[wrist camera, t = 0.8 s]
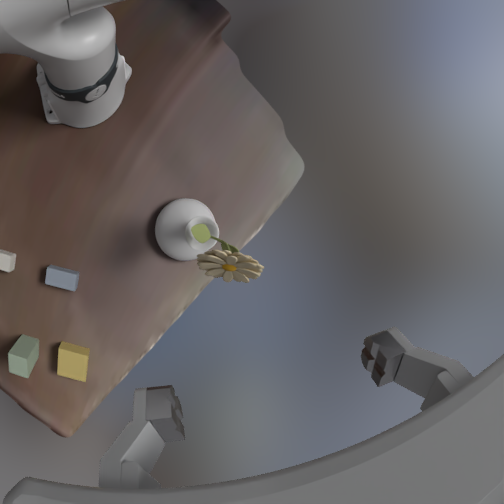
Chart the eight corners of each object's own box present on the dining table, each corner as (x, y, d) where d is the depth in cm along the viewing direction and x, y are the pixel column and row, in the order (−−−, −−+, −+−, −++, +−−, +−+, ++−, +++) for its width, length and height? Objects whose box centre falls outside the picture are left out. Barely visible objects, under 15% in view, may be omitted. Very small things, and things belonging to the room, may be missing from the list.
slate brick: (49, 280, 44) (44, 283, 41) (51, 264, 44) (47, 267, 41) (77, 287, 47) (74, 291, 44) (79, 271, 46) (77, 274, 44)
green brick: (22, 351, 42) (9, 372, 34) (22, 334, 42) (8, 352, 34) (38, 356, 44) (27, 378, 35) (39, 339, 44) (27, 359, 35)
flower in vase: (141, 230, 50) (151, 242, 28) (184, 186, 53) (228, 163, 30) (191, 277, 55) (238, 321, 32) (230, 234, 57) (301, 247, 35)
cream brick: (-9, 261, 38) (-16, 264, 35) (-7, 246, 38) (-14, 248, 35) (14, 269, 41) (8, 272, 38) (16, 253, 41) (10, 256, 38)
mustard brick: (60, 366, 46) (57, 374, 43) (61, 340, 46) (58, 348, 43) (86, 373, 48) (85, 381, 45) (89, 348, 48) (88, 356, 45)
